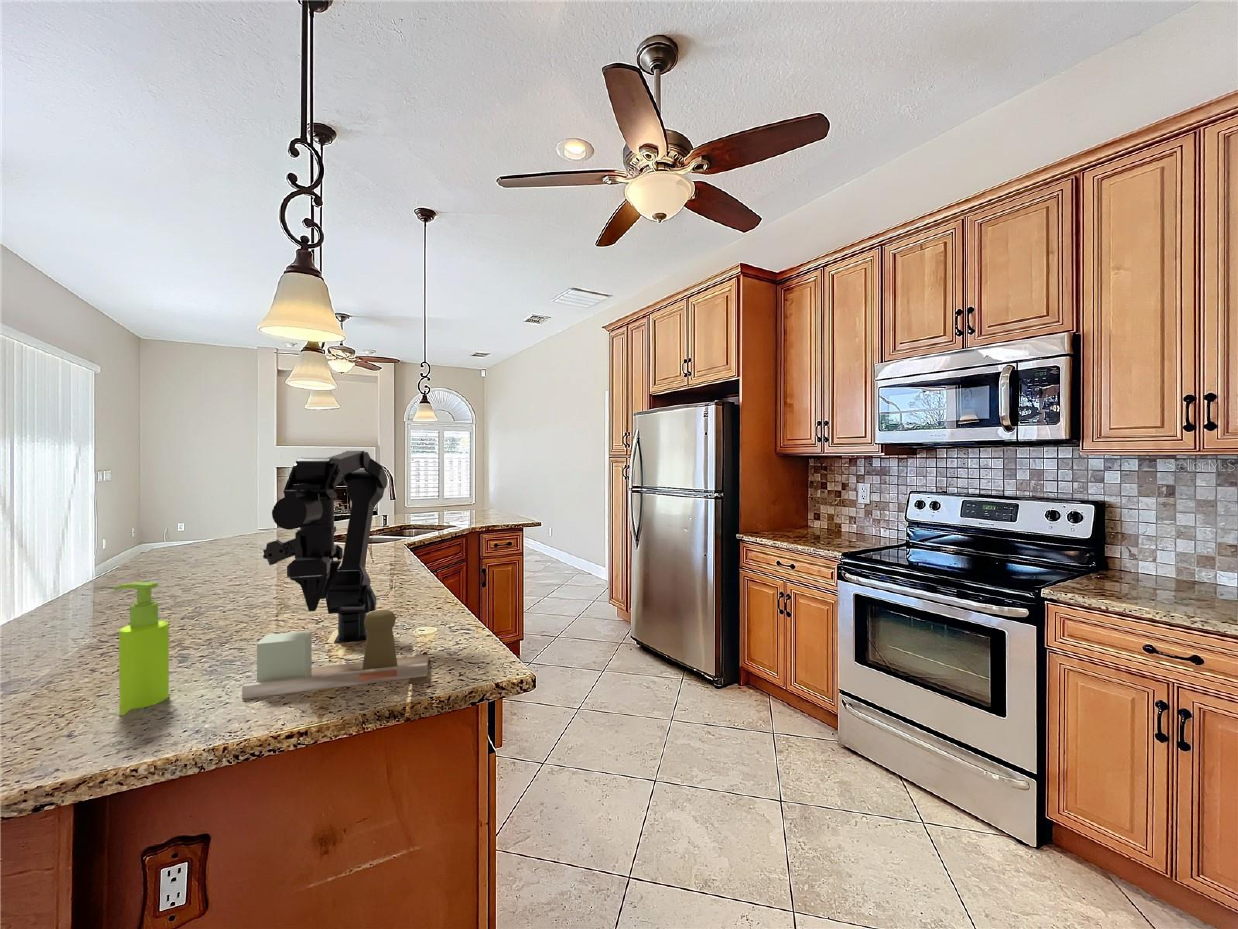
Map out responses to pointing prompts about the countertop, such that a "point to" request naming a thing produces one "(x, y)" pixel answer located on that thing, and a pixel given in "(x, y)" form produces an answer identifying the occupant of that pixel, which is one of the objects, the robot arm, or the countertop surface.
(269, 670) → the sage tin
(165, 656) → the soap dispenser
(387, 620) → the cork
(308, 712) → the countertop surface
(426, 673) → the shelf board
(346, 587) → the robot arm
